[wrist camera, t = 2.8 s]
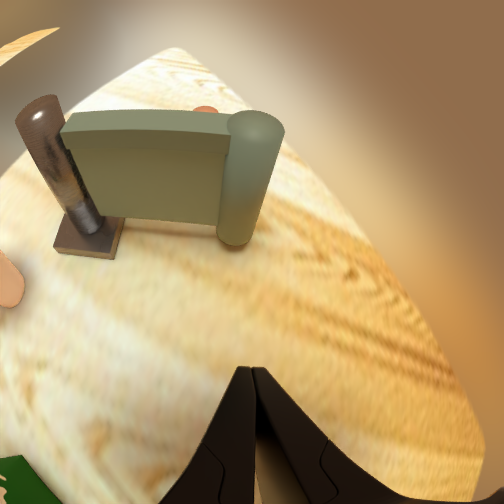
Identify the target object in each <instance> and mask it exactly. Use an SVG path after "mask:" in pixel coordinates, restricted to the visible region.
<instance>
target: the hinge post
mask: <svg viewBox="0 0 504 504" xmlns="http://www.w3.org/2000/svg"><path fill="white" fill-rule="evenodd" d="M65 123H66V122H65V119H64V116H63V113H62V110H61V107H60V104H59V101H58V98H57V96H56V95H46V96H43V97H40V98H38V99H36V100H34V101H33V102H31V103H30V104H28V105H27V106H26V107H25V108H24V109H23V110H22V111H21V112H20V113H19V114H18V116H17V118H16V120H15V124H16V126H17V128H18V130H19V132H20V135H21V136H22V139H23V141H24V143H25V145H26V146H27V149H28V151H29V152H30V154H31V156H32V158H33V160H34V162H35V164H36V166H37V167H38V169H39V171H40V173H41V174H42V176H43V178H44V180H45V181H46V183H47V185H48V186H49V188H50V190H51V191H52V193H53V195H54V196H55V198H56V200H57V201H58V203H59V204H60V206H61V207H62V209H63V210H64V212H65V214H64V217H63V219H62V222H61V225H60V227H59V230H58V233H57V236H56V239H55V242H54V245H53V247H54V248H55V250H56V251H57V252H58V253H64V254H72V255H80V256H88V257H96V258H104V259H113V260H114V257H115V253H116V249H117V245H118V242H119V238H120V234H121V230H122V227H123V223H124V220H125V217H112V216H101V215H100V213H99V212H98V210H97V208H96V206H95V204H94V202H93V200H92V198H91V195H90V193H89V191H88V189H87V187H86V185H85V183H84V181H83V179H82V176H81V174H80V172H79V170H78V167H77V165H76V163H75V161H74V158H73V156H72V153H71V151H70V149H66V147H65V145H64V143H63V140H62V138H61V135H60V133H59V132H60V131H61V129H62V128H63V126H64V125H65Z"/></svg>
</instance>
